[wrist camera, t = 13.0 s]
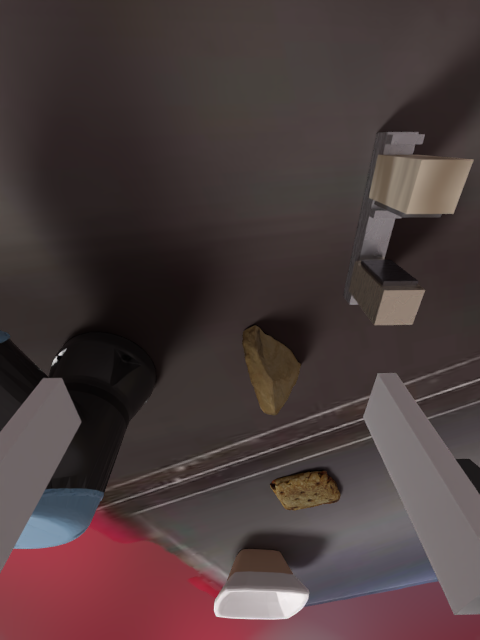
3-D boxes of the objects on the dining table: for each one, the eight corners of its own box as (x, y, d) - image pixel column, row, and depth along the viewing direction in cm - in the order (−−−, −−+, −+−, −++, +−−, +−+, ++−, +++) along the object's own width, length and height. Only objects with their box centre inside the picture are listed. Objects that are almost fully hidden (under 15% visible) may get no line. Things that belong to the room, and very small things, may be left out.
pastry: (287, 458, 61) (289, 472, 59) (357, 474, 65) (362, 487, 62) (256, 499, 70) (256, 512, 67) (319, 510, 73) (322, 524, 71)
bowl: (222, 537, 79) (220, 588, 70) (308, 542, 82) (317, 592, 73) (211, 571, 92) (209, 618, 83) (286, 574, 94) (292, 620, 85)
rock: (221, 336, 41) (234, 392, 45) (261, 356, 34) (271, 420, 38) (277, 309, 46) (284, 361, 50) (321, 322, 39) (325, 381, 43)
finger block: (367, 202, 31) (404, 220, 25) (377, 154, 29) (422, 159, 22) (404, 202, 31) (451, 219, 25) (417, 154, 29) (473, 159, 22)
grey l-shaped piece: (368, 295, 40) (406, 340, 31) (339, 295, 40) (369, 340, 31) (410, 132, 30) (484, 129, 21) (372, 132, 30) (430, 129, 21)
